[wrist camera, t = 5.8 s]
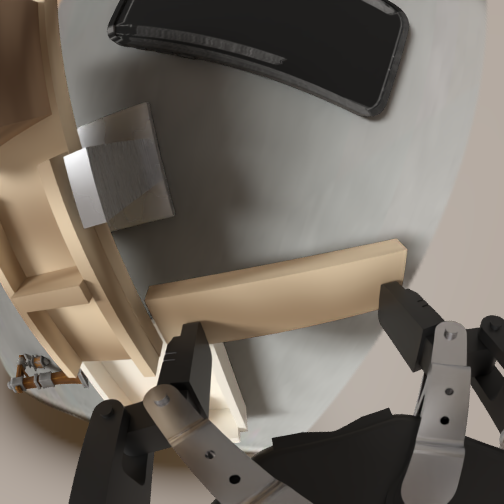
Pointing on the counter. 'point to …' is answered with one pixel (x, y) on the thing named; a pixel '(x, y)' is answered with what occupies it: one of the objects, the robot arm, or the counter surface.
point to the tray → (136, 385)
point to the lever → (105, 250)
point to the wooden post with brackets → (41, 376)
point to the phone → (280, 41)
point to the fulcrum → (119, 171)
